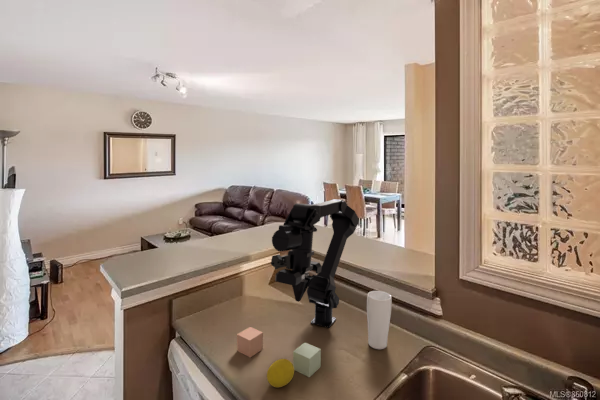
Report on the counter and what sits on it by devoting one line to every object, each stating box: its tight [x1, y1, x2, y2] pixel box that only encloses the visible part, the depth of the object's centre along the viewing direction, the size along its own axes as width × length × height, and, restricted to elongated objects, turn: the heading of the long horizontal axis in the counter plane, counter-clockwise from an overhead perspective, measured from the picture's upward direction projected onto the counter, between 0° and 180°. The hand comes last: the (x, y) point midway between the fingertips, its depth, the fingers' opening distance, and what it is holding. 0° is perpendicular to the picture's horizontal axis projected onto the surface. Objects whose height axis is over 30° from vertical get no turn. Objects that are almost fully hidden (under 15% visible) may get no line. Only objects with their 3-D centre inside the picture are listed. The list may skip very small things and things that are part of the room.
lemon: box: [266, 358, 295, 388], centre depth 75 cm, size 6×6×8 cm
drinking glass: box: [366, 290, 393, 350], centre depth 91 cm, size 7×7×15 cm
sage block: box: [292, 342, 322, 378], centre depth 81 cm, size 5×5×5 cm
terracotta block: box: [236, 326, 264, 358], centre depth 89 cm, size 5×5×5 cm
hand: (297, 301), depth 92 cm, fingers closed
